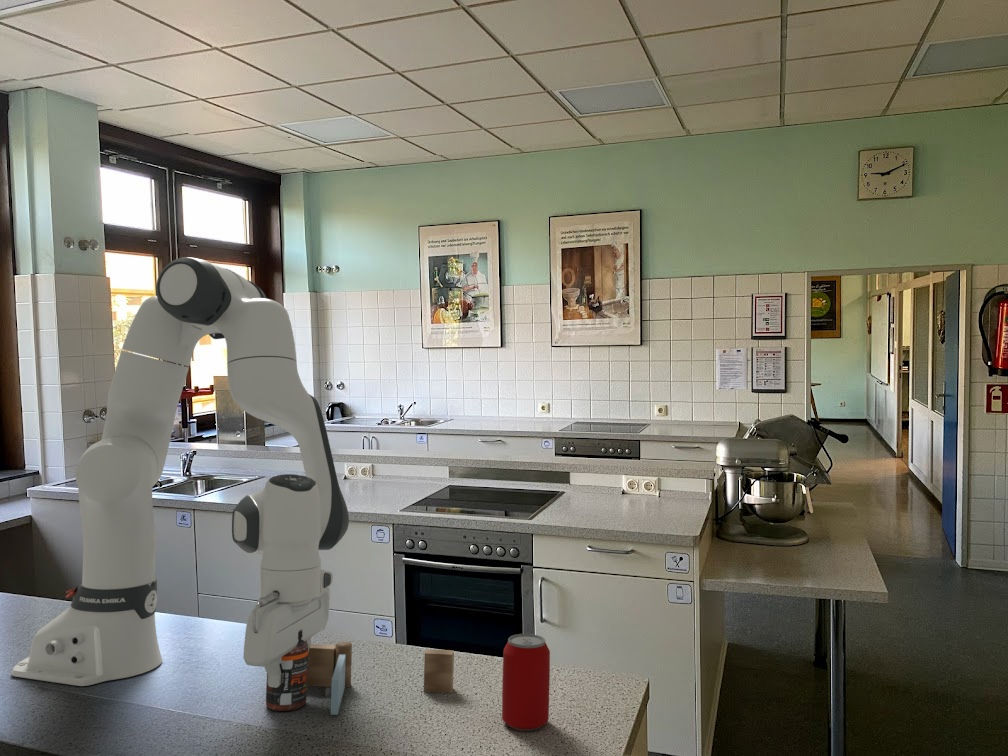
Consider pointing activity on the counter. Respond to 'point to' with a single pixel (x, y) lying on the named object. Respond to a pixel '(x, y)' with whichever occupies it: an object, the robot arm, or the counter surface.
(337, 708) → the door
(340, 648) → the door frame
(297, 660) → the supplement bottle
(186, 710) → the counter surface
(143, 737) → the counter surface
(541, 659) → the beverage can
